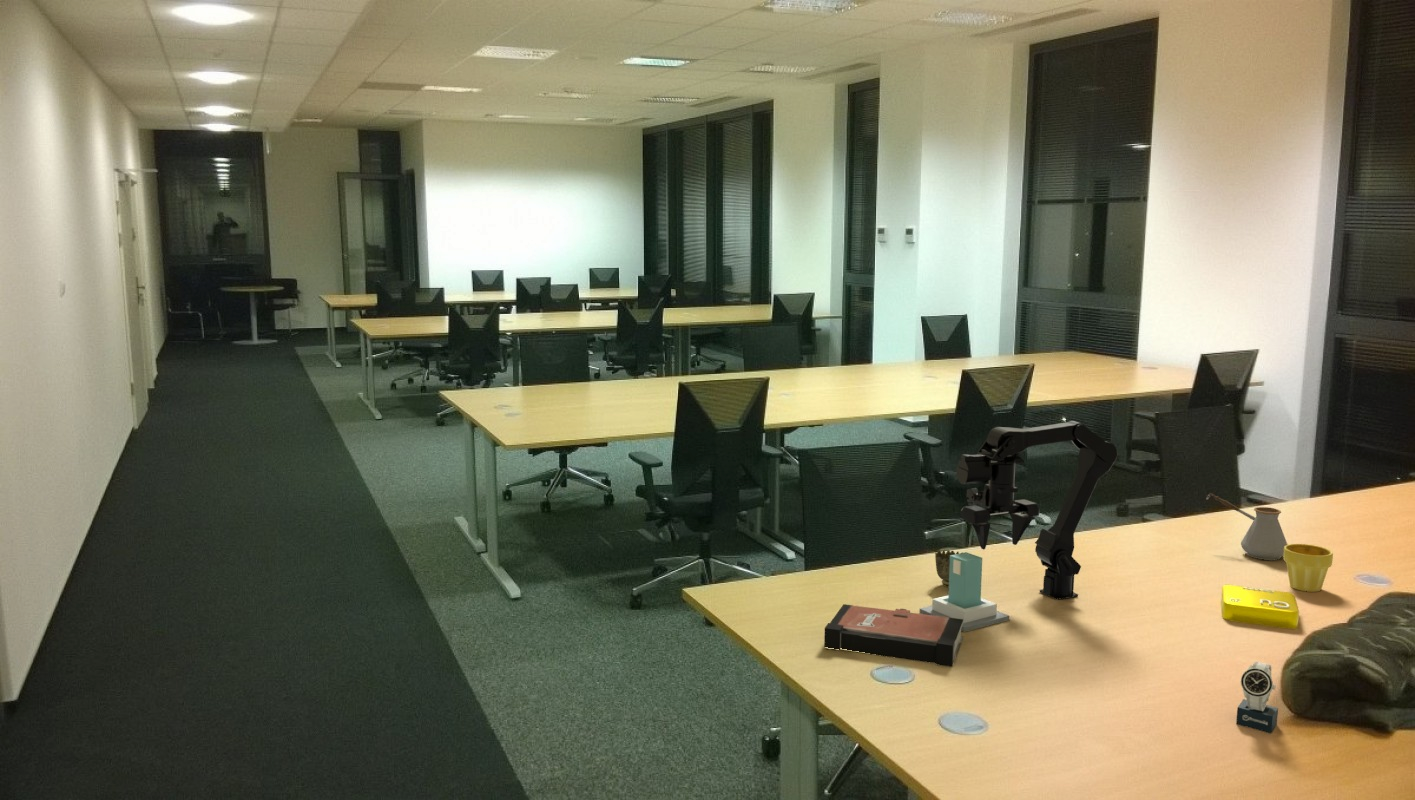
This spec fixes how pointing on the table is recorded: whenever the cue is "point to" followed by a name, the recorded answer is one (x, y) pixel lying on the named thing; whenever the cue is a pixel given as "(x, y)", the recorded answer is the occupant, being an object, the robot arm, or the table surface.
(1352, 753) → the table surface
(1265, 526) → the coffee pot
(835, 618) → the book
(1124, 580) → the table surface
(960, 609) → the square socket base
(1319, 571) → the plant pot
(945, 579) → the cup
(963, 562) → the teal rectangular block
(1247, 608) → the element tile
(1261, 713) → the watch
